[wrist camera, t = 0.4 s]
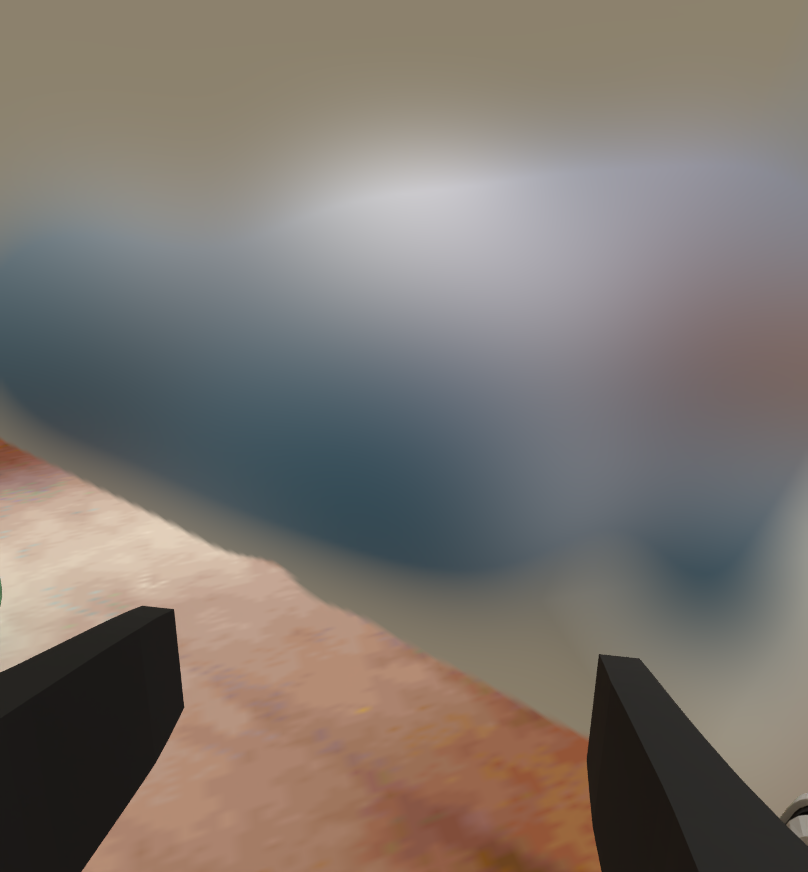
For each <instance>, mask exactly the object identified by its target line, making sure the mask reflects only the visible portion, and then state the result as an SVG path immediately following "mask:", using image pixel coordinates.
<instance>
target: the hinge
mask: <svg viewBox="0 0 808 872" xmlns="http://www.w3.org/2000/svg"><path fill="white" fill-rule="evenodd" d="M779 819H780V820H781V821H782V822H783V823H784V824H785V825H786V826H787V827H788V828H790V829H791V830H792V831H793V832H794V833H795V834H796V835H797V836H798V837H799V838H800V839H801V840H802V841H803V842H804V843H805V844H806V845H807V846H808V793H805V794H802V795H800V796H799V797H798V798H796V799H795V800H794V801H793V802H792V804H791V805H790V806H789V807H788V808H787V809H786V810H785V812H784V813H783V814H782V816H781V817H780V818H779Z"/></svg>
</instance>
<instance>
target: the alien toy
mask: <svg viewBox="0 0 808 872" xmlns="http://www.w3.org/2000/svg"><path fill="white" fill-rule="evenodd" d="M1 599H2V586H1V580H0V605H1Z"/></svg>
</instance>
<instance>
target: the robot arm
mask: <svg viewBox="0 0 808 872" xmlns="http://www.w3.org/2000/svg"><path fill="white" fill-rule="evenodd" d="M183 709H184V701H183V692H182V682H181V672H180V663H179V653H178V643H177V634H176V624H175V615H174V609H167V608H157V607H148V606H140V607H138V608H135V609H133V610H130V611H128V612H125V613H123V614H121V615H119V616H116V617H114V618H112V619H110V620H108V621H106V622H104V623H102V624H99V625H97V626H95V627H93V628H91V629H89V630H87V631H85V632H83V633H81V634H79V635H77V636H75V637H73V638H71V639H69V640H67V641H65V642H63V643H61V644H59V645H57V646H55V647H53V648H51V649H48V650H46V651H44V652H42V653H40V654H38V655H36V656H34V657H32V658H30V659H28V660H26V661H24V662H22V663H20V664H18V665H16V666H14V667H11V668H9V669H7V670H5V671H3V672H0V872H81V871H82V870H83V869H84V867H85V866H86V864H87V863H88V861H89V860H90V858H91V857H92V856H93V854H94V853H95V851H96V850H97V848H98V847H99V845H100V844H101V842H102V841H103V840H104V838H105V837H106V835H107V834H108V832H109V831H110V829H111V828H112V827H113V825H114V824H115V822H116V821H117V819H118V818H119V816H120V815H121V814H122V812H123V811H124V809H125V808H126V806H127V805H128V803H129V802H130V800H131V799H132V797H133V796H134V795H135V793H136V792H137V790H138V789H139V787H140V786H141V784H142V783H143V781H144V780H145V778H146V777H147V775H148V774H149V772H150V771H151V769H152V768H153V766H154V765H155V763H156V761H157V759H158V758H159V756H160V754H161V752H162V750H163V748H164V746H165V745H166V743H167V741H168V739H169V737H170V735H171V733H172V731H173V729H174V727H175V725H176V723H177V721H178V719H179V717H180V715H181V713H182V711H183ZM587 770H588V781H589V793H590V803H591V813H592V823H593V830H594V835H595V841H596V846H597V851H598V856H599V861H600V866H601V871H602V872H808V846H807V845H806V844H805V843H804V842H803V841H802V840H801V839H800V838H799V837H798V836H797V835H796V834H795V833H794V832H793V831H792V830H791V829H790V828H788V827H787V826H786V825H785V824H784V823H783V822H782V821H781V820H780V819H779V818H778V817H777V816H776V815H775V814H774V813H773V811H772V810H771V809H770V808H769V807H768V806H767V805H766V804H765V803H764V802H763V801H762V800H761V799H760V798H759V797H758V796H757V795H756V794H755V793H754V792H753V791H752V790H751V789H750V788H749V787H748V786H747V785H746V784H745V783H744V782H743V781H742V779H741V778H740V777H739V776H738V775H737V774H736V773H735V772H734V771H733V770H732V768H731V767H730V766H729V765H728V764H727V763H726V762H725V761H724V759H723V758H722V757H721V756H720V755H719V754H718V753H717V751H716V750H715V749H714V748H713V747H712V746H711V745H710V743H709V742H708V741H707V740H706V739H705V738H704V737H703V735H702V734H701V733H700V732H699V731H698V729H697V728H696V727H695V726H694V725H693V724H692V722H691V721H690V720H689V719H688V718H687V716H686V715H685V714H684V713H683V711H682V710H681V709H680V708H679V707H678V705H677V704H676V703H675V702H674V700H673V699H672V698H671V697H670V696H669V694H668V693H667V692H666V690H664V688H663V687H662V685H661V684H660V683H659V682H658V680H657V679H656V678H655V677H654V676H653V674H652V673H651V672H650V671H649V669H648V668H647V667H646V666H645V665H644V663H643V662H642V661H641V660H640V659H639V658H629V657H620V656H611V655H601V654H599V659H598V667H597V676H596V684H595V693H594V702H593V710H592V719H591V727H590V736H589V745H588V753H587Z"/></svg>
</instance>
